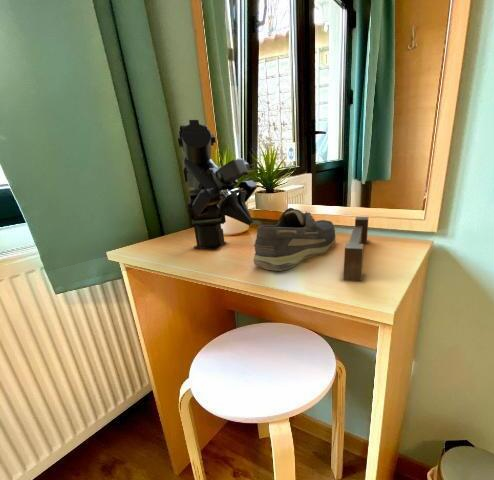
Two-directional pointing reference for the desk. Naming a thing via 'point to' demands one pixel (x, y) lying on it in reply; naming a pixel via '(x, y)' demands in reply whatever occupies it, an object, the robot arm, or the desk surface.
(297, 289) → the desk surface
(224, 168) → the robot arm
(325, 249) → the boat shoe
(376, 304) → the desk surface
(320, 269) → the desk surface
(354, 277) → the rail
